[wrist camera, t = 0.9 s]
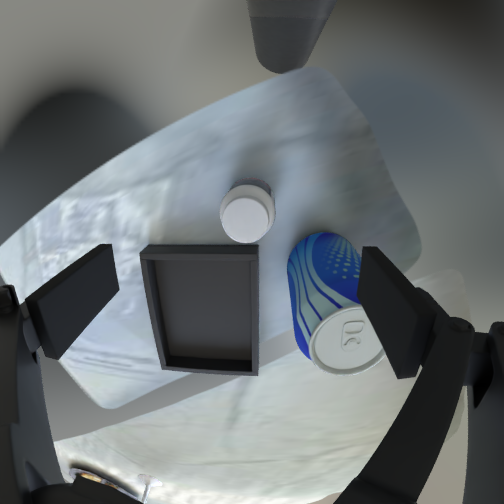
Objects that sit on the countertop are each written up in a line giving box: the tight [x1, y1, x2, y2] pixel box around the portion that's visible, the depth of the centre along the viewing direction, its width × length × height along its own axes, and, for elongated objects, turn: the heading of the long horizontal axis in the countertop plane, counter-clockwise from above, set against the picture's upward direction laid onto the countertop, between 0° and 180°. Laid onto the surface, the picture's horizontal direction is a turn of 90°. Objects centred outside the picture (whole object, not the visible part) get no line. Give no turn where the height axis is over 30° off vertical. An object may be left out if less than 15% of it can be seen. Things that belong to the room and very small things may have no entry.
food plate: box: [69, 468, 137, 500], centre depth 65 cm, size 25×23×4 cm
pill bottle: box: [220, 178, 276, 243], centre depth 30 cm, size 5×5×9 cm
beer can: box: [287, 232, 386, 376], centre depth 28 cm, size 8×8×16 cm
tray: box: [139, 245, 259, 376], centre depth 38 cm, size 18×14×3 cm
